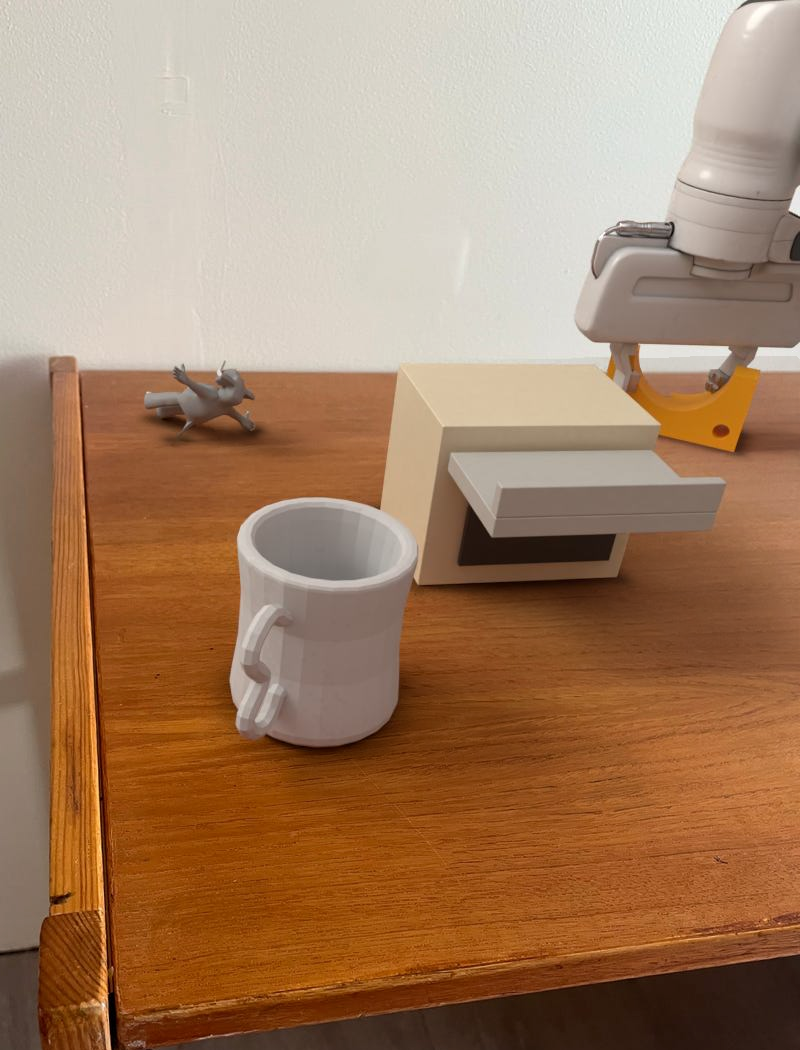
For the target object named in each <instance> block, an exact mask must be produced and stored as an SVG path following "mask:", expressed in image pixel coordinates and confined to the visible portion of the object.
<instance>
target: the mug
mask: <svg viewBox="0 0 800 1050" xmlns="http://www.w3.org/2000/svg"><path fill="white" fill-rule="evenodd" d="M236 546H237V547H236V548H237V559H238V568H239V569H238V570H239V580H240V599H239V601H240V602H239V613H238V614H239V615H238V626H237V627H238V630H237V637H236V643H235V647H234V652H233V657H232V663H231V666H230V667H231V668H230V675H229V686H230V691H231V698H232V702H233V704H234V705H235V708H236V709H237V712H236V718H235V727H236V729H237V731H238V733H239V734H240V735H241V737H242V738H243V739H245V740H250V741H251V740H252V741H258V740H259V739H260V740H261V738H263V737H265V736H266V735H267V736H269V737H271V738H273V739H275V740H278V741H281V742H284V743H287V744H291V745H295V746H302V747H308V748H309V747H311V748H330V747H331V748H333V747H340V746H345V745H349V744H351V743H356V742H358V741H361V740H362V739H364V738H366V737H369V736H370V735H372V734H374V733H377V732H378V731H379V730H380V729H381V728H382V727H383V726H384V725H386V724H387V723H388V722H389V721H390V719H391V717H392V715H393V713H394V711H395V709H396V707H397V704H398V701H399V688H400V687H399V686H400V645H401V638H402V631H403V630H402V629H403V621H404V614H405V608H406V604H407V601H408V597H409V594H410V590H411V588H412V583H413V582H414V581H413V580H414V574H415V570H416V567H417V563H418V549H419V546H418V544H417V542H416V540H415V538H414V536H413V534H412V532H411V531H410V530H409V529H408V528H407V527H406V526H405V525H404V524H403V523H402V522H401V521H399V520H397V519H396V518H394V517H392V516H391V515H389V514H388V513H386V512H384V511H381V510H380V509H378V508H377V507H374V506H371V505H368V504H365V503H360V502H358V501H357V502H356V501H353V500H348V499H342V498H332V497H324V496H323V497H298V498H291V499H285V500H284V499H283V500H281V501H277V502H274V503H270V504H268V505H265V506H263V507H261V508H259V509H258V510H256V511H254V512H253V513H251V514H250V515H249V516H248V517H247V518H246V519H245V520H244V522H243V523H242V524H241V525H240V528H239V530H238V533H237V537H236Z"/></svg>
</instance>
